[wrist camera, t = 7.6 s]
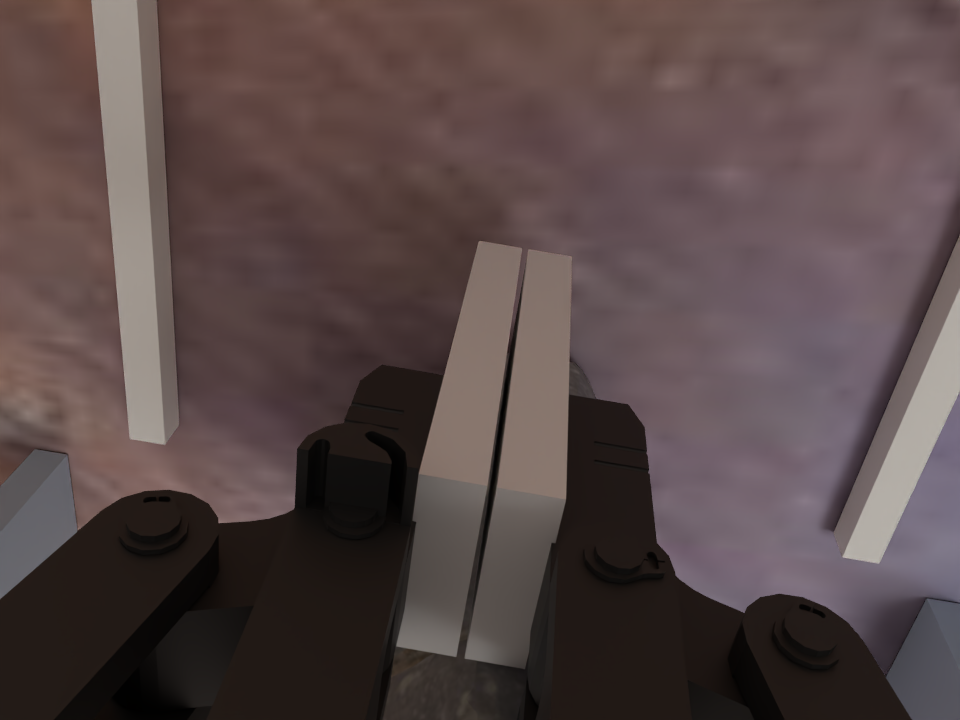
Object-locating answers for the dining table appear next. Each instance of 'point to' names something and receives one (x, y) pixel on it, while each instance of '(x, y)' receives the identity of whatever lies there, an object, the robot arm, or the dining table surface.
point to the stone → (462, 655)
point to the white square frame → (150, 320)
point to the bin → (52, 521)
